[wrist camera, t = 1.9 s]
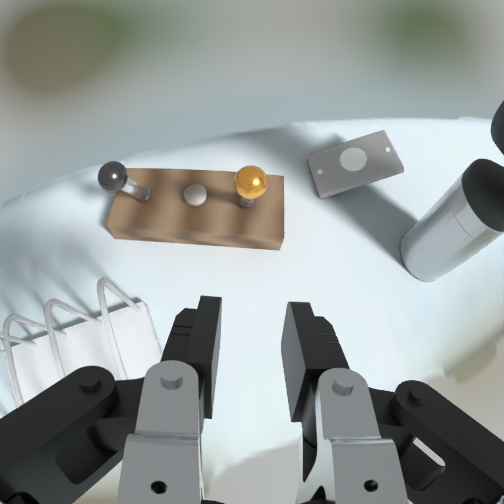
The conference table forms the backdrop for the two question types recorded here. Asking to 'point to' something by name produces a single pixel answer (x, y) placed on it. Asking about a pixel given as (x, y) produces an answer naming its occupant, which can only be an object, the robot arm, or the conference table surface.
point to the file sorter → (82, 346)
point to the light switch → (354, 164)
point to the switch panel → (198, 210)
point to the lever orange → (250, 185)
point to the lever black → (121, 181)
